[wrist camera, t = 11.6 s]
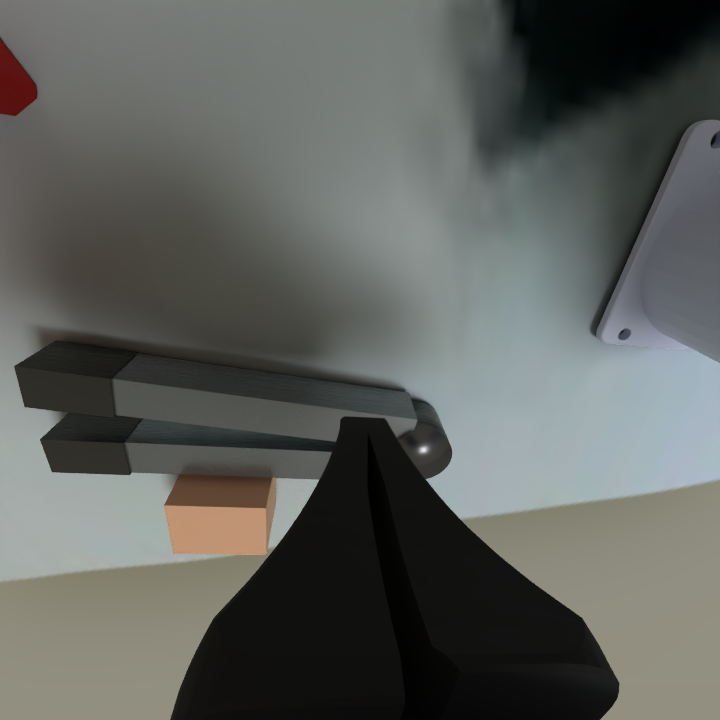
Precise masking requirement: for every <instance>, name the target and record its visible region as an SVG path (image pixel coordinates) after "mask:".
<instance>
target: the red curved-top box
mask: <svg viewBox="0 0 720 720" xmlns="http://www.w3.org/2000/svg"><path fill="white" fill-rule="evenodd" d="M35 99H37V90H36V85H35V84H34V82H33V81H32V80H31V78H30V77H29V76H28V74H27V73H26V72H25V71H24V69H23V68H22V67H21V65H20V64H19V63H18V61H17V60H16V59H15V57H14V56H13V55H12V54H11V52H10V51H9V50H8V48H7V47H6V46H5V44H4V43H3V42H2V40H1V39H0V114H6V115H12V116H16V115H17V114H19V113H20V112H21V111H22V110H23V109H25V108H26V107H27V106H28V105H29V104H31V103H32V102H33V101H34V100H35Z"/></svg>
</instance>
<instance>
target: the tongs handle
mask: <svg viewBox="0 0 720 720" xmlns="http://www.w3.org/2000/svg"><path fill="white" fill-rule="evenodd" d="M40 441H41V444H42V446H43V449H44V452H45V454H46V457H47V460H48V462H49V465H50V468H51V471H52V472H61V473H88V474H115V475H130V474H131V473H132V472H134V473H161V474H188V475H215V476H241V477H268V478H295V479H320V478H321V476H322V474H323V472H324V470H325V468H326V466H327V463H328V461H329V459H330V456H331V454H332V451H333V449H334V446H335V443H336V442H334V441H326V440H318V439H310V438H301V437H293V436H285V435H277V434H268V433H260V432H252V431H243V430H235V429H227V428H219V427H210V426H202V425H194V424H185V423H177V422H169V421H161V420H152V419H144V418H136V417H128V416H119V415H116V416H115V417H114V418H112V417H104V416H96V415H87V414H79V413H71V412H69V413H68V414H67V415H66V416H65V417H64V418H63V419H62V420H61V421H60V422H59V423H57V424H56V425H55V426H54V427H53V428H52V429H51V430H50V431H49V432H48V433H47V434H45V435H44V436H43V437H42V438H41V439H40Z"/></svg>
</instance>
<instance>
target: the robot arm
mask: <svg viewBox="0 0 720 720" xmlns="http://www.w3.org/2000/svg"><path fill="white" fill-rule="evenodd" d="M715 133H716V140H715V142H714V144H713V145H712V146H711V144H710V142H711V139H712V137H713V136H714V134H715ZM623 329H624V332H623V333H622V334H621V335H619V333H620V332H621V331H622V330H623ZM596 335H597V338H598V339H599V340H600V341H602V342H603V343H606V344H615V345H627V346H639V347H651V348H663V349H675V350H687V351H697V352H699V353H701V354H703V355H705V356H707V357H709V358H711V359H713V360H715V361H717V362H719V363H720V121H719V120H703V121H697V122H696V123H694V124H692V125H691V126H690V127H689V128H688V129H687V130H686V131H685V133H684V135H683V136H682V138H681V141H680V143H679V145H678V148H677V150H676V152H675V154H674V157H673V159H672V161H671V163H670V166H669V168H668V170H667V172H666V175H665V177H664V179H663V181H662V184H661V186H660V188H659V190H658V193H657V195H656V197H655V200H654V202H653V204H652V206H651V209H650V211H649V213H648V215H647V218H646V220H645V222H644V224H643V227H642V229H641V231H640V233H639V236H638V238H637V240H636V242H635V245H634V247H633V249H632V252H631V254H630V256H629V258H628V261H627V263H626V265H625V267H624V270H623V272H622V274H621V276H620V279H619V281H618V283H617V285H616V288H615V290H614V292H613V294H612V297H611V299H610V301H609V304H608V306H607V308H606V310H605V313H604V315H603V317H602V319H601V322H600V324H599V326H598V328H597V332H596ZM618 335H619V336H618ZM618 693H619V682H618V680H617V678H616V676H615V675H614V673H613V671H612V669H611V667H610V665H609V663H608V662H607V660H606V658H605V656H604V654H603V652H602V650H601V648H600V646H599V644H598V643H597V641H596V639H595V638H594V636H593V635H592V633H591V632H590V630H589V628H588V627H587V625H586V623H585V622H584V620H583V619H582V618H581V617H580V616H578V615H577V614H576V613H574V612H573V611H571V610H570V609H569V608H567V607H566V606H564V605H563V604H562V603H560V602H559V601H557V600H556V599H555V598H553V597H552V596H550V595H549V594H547V593H546V592H545V591H543V590H542V589H540V588H539V587H538V586H536V585H535V584H534V583H532V582H531V581H529V580H528V579H527V578H526V577H525V576H523V575H522V574H521V573H520V572H519V571H517V570H516V569H515V568H514V567H512V566H511V565H510V564H508V563H507V562H506V561H505V560H504V559H503V558H501V557H500V556H499V555H498V554H497V553H495V552H494V551H493V550H492V549H491V548H490V547H489V546H488V545H487V544H486V543H484V542H483V541H482V540H481V539H480V538H479V537H478V536H476V534H475V533H473V532H472V531H471V530H470V529H469V528H468V527H467V526H466V525H465V524H464V523H463V522H462V521H461V520H460V519H459V518H458V517H457V516H456V514H455V513H454V512H453V511H452V510H451V509H450V508H449V507H448V506H447V505H446V504H445V502H444V501H443V500H442V499H441V498H440V497H439V495H438V494H437V493H436V492H435V491H434V489H433V488H432V487H431V486H430V484H429V483H428V482H427V481H426V479H425V478H424V477H423V475H422V474H421V473H420V471H419V470H418V469H417V467H416V466H415V464H414V463H413V462H412V460H411V459H410V457H409V456H408V454H407V453H406V451H405V450H404V448H403V447H402V445H401V444H400V442H399V441H398V439H397V437H396V436H395V434H394V432H393V431H392V429H391V427H390V425H389V423H388V422H387V420H386V419H385V418H371V417H349V416H344V417H343V418H341V419H340V429H339V433H338V437H337V440H336V443H335V446H334V449H333V451H332V454H331V456H330V459H329V461H328V463H327V466H326V468H325V470H324V472H323V474H322V476H321V478H320V480H319V482H318V484H317V486H316V487H315V489H314V491H313V493H312V495H311V496H310V498H309V500H308V501H307V503H306V505H305V506H304V508H303V509H302V511H301V513H300V514H299V516H298V517H297V519H296V520H295V522H294V523H293V524H292V526H291V527H290V529H289V530H288V532H287V533H286V535H285V536H284V537H283V539H282V540H281V541H280V543H279V544H278V545H277V547H276V548H275V549H274V550H273V552H272V553H271V554H270V555H269V556H268V558H267V559H266V560H265V561H264V563H263V564H262V565H261V566H260V568H259V569H258V570H257V571H256V573H255V574H254V575H253V576H252V577H251V578H250V580H249V581H248V582H247V583H246V584H245V585H244V586H243V587H242V588H241V589H240V591H239V592H238V593H237V594H236V595H235V596H234V597H233V598H232V599H231V600H230V601H229V602H228V604H226V606H225V607H224V608H223V609H222V610H221V611H220V612H219V613H218V614H217V615H216V616H215V618H214V619H213V620H212V622H211V624H210V626H209V628H208V629H207V631H206V633H205V635H204V637H203V639H202V641H201V643H200V644H199V647H198V649H197V650H196V652H195V655H194V657H193V659H192V661H191V663H190V665H189V668H188V670H187V672H186V675H185V677H184V680H183V682H182V685H181V687H180V690H179V693H178V696H177V700H176V703H175V706H174V710H173V713H172V716H171V719H170V720H600V719H601V718H602V717H603V716H604V715H605V714H606V713H607V711H608V710H609V709H610V708H611V707H612V706H613V704H614V702H615V701H616V700H617V697H618Z"/></svg>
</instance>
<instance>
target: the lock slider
mask: <svg viewBox="0 0 720 720" xmlns="http://www.w3.org/2000/svg"><path fill="white" fill-rule="evenodd" d="M275 504H276V478H268V477H241V476H215V475H188V474H180V475H179V477H178V479H177V481H176V483H175V485H174V487H173V489H172V491H171V493H170V495H169V497H168V499H167V501H166V503H165V505H164V508H165V513H166V518H167V523H168V529H169V534H170V539H171V544H172V550H173V553H174V554H236V555H266V554H267V549H268V543H269V538H270V532H271V526H272V521H273V515H274V510H275Z"/></svg>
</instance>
